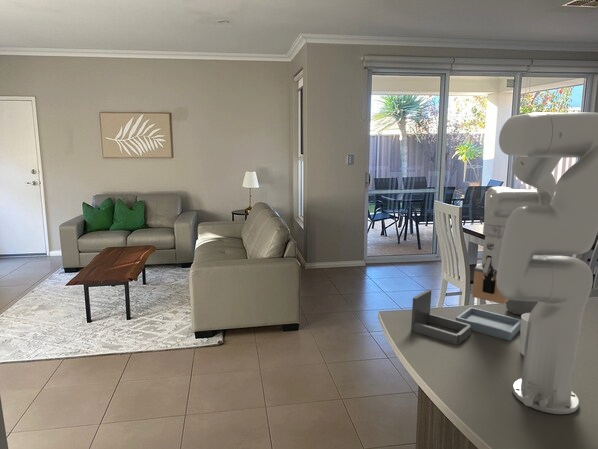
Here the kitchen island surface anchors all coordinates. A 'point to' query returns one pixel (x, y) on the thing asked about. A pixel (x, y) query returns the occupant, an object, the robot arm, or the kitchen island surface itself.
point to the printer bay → (435, 321)
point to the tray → (490, 323)
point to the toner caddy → (479, 287)
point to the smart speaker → (520, 307)
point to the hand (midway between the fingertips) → (491, 289)
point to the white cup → (523, 331)
